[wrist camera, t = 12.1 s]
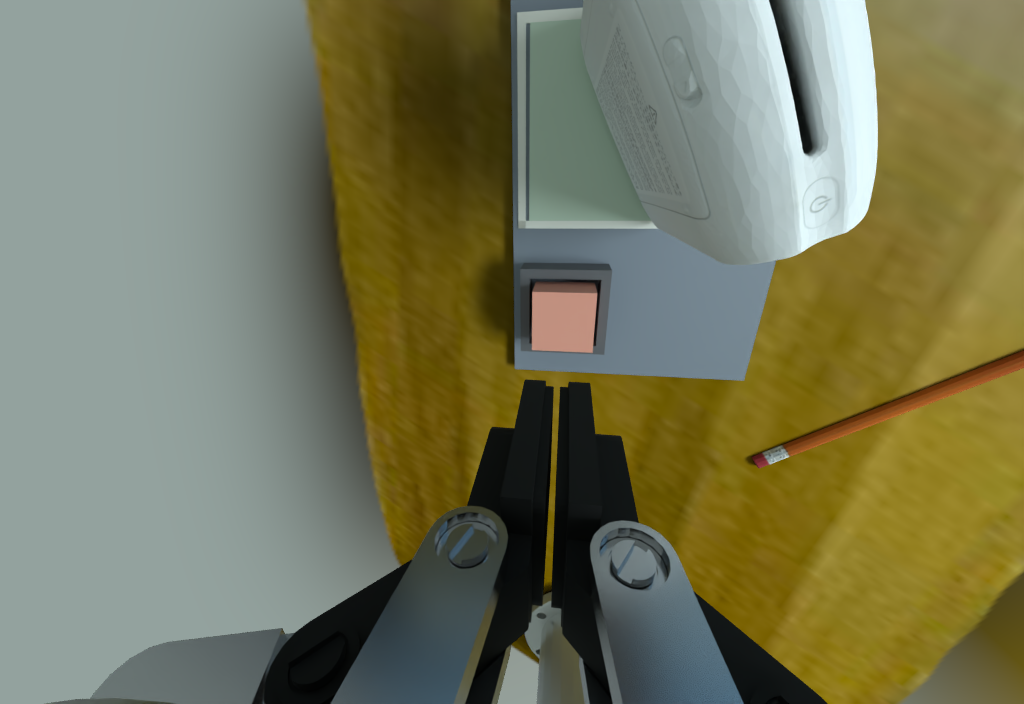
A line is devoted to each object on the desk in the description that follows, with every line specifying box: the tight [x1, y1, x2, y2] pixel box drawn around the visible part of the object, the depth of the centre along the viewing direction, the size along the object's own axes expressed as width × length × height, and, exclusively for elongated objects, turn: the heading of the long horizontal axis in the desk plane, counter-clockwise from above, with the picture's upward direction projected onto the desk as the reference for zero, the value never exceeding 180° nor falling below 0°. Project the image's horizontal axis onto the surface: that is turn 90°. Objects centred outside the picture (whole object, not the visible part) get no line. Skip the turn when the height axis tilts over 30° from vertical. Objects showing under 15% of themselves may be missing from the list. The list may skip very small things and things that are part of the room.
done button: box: [532, 282, 597, 353], centre depth 20 cm, size 3×3×2 cm
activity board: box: [511, 0, 776, 380], centre depth 19 cm, size 20×14×2 cm
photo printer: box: [580, 0, 878, 265], centre depth 13 cm, size 10×4×12 cm, turn 30°
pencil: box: [752, 350, 1024, 468], centre depth 22 cm, size 1×19×1 cm, turn 126°
